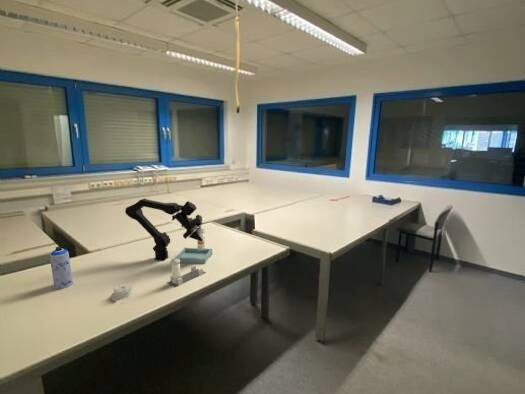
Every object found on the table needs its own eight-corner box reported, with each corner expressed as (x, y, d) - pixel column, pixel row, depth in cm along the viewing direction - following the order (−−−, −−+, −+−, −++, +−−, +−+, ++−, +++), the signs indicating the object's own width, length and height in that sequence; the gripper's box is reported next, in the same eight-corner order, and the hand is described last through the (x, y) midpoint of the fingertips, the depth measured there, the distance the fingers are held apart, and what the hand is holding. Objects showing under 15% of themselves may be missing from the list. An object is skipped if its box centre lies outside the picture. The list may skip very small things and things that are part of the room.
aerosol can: (66, 279, 145) (61, 243, 141) (76, 282, 142) (71, 245, 138) (50, 287, 138) (44, 248, 133) (60, 290, 135) (55, 251, 131)
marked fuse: (198, 250, 165) (198, 231, 163) (196, 248, 169) (196, 229, 166) (205, 249, 167) (205, 230, 164) (203, 247, 171) (203, 228, 168)
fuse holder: (166, 284, 142) (166, 277, 141) (197, 270, 157) (197, 263, 156) (175, 289, 137) (174, 281, 137) (206, 274, 153) (206, 267, 152)
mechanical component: (129, 302, 126) (138, 290, 136) (128, 293, 125) (138, 282, 135) (107, 302, 126) (117, 290, 136) (106, 293, 125) (116, 282, 135)
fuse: (170, 284, 140) (169, 261, 138) (174, 280, 144) (173, 258, 142) (179, 284, 140) (178, 262, 137) (182, 280, 144) (181, 258, 141)
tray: (175, 263, 165) (174, 257, 165) (184, 252, 181) (184, 247, 180) (205, 265, 164) (205, 259, 163) (212, 254, 180) (212, 248, 179)
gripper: (187, 216, 155) (207, 236, 156) (199, 207, 173) (216, 226, 174) (174, 228, 157) (194, 248, 158) (187, 219, 175) (204, 237, 176)
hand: (203, 239), depth 166 cm, fingers closed on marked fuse, 4 cm apart
